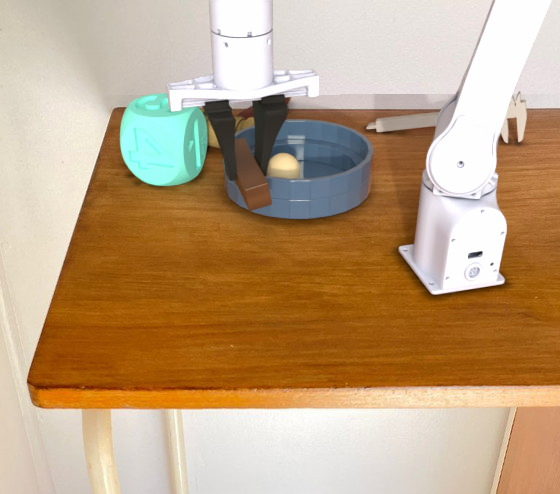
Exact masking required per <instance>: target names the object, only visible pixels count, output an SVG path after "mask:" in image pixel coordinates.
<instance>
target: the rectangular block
mask: <svg viewBox="0 0 560 494" xmlns="http://www.w3.org/2000/svg"><path fill="white" fill-rule="evenodd" d="M235 159H236V169H237V172H236V175H237V180H235V182H236V184H237V186H238V188H239V190H240V193H241V195H242V197H243V199H244V201H245V203H246V205H247V207H248V209H249V210H248V211H249V212H251V211H252V210H256V209H259V208H262V207H265V206H268V205H272V200H271V195H270V190H269V185H268V182H267V180H266V178H265V176H264V175H263V173H262V171H261V169H260V167H259V165H258V163H257V161H256V159H255V158H254V156H253V154H252V152H251V150H250V148H249V146H248V144H247V143H246V141H245V139H244V137H243V138H239V139H236V140H235Z"/></svg>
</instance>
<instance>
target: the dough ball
mask: <svg viewBox="0 0 560 494" xmlns="http://www.w3.org/2000/svg"><path fill="white" fill-rule="evenodd" d="M267 176H272V177H281V178H290V179H298V178H299V177H300V165H299V163H298V161H297V160H296V158H295V157H293V156H292V155H290V154H288V153H279V154H276V155H275V156H273V157H272V158H271V159H270V160H269V164H268V169H267Z"/></svg>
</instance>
